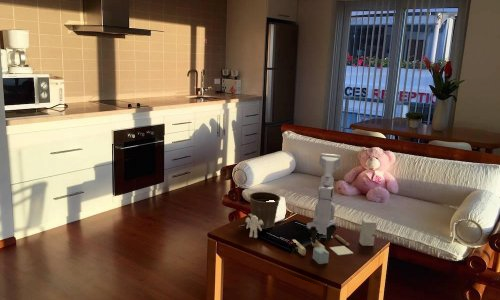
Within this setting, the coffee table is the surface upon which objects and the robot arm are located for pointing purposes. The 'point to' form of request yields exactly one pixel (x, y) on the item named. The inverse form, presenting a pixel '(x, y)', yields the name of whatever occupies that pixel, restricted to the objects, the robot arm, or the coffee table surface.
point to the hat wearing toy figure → (253, 225)
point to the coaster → (341, 250)
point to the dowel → (342, 240)
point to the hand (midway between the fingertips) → (320, 241)
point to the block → (320, 255)
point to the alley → (302, 249)
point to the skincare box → (367, 232)
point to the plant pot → (264, 208)
